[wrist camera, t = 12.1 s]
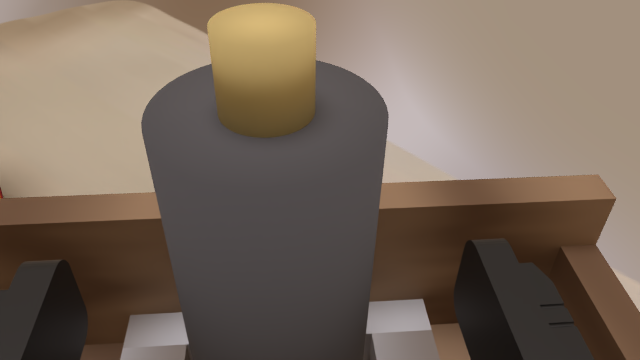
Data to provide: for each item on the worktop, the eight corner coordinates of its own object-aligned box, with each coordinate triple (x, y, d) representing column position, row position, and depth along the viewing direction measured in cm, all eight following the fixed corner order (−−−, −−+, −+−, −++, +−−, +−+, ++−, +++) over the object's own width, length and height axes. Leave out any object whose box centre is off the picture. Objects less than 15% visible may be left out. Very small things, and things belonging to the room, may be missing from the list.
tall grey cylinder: (212, 536, 15) (91, 95, 7) (221, 398, 18) (146, -22, 10) (360, 524, 15) (425, 85, 7) (344, 390, 18) (374, -24, 10)
